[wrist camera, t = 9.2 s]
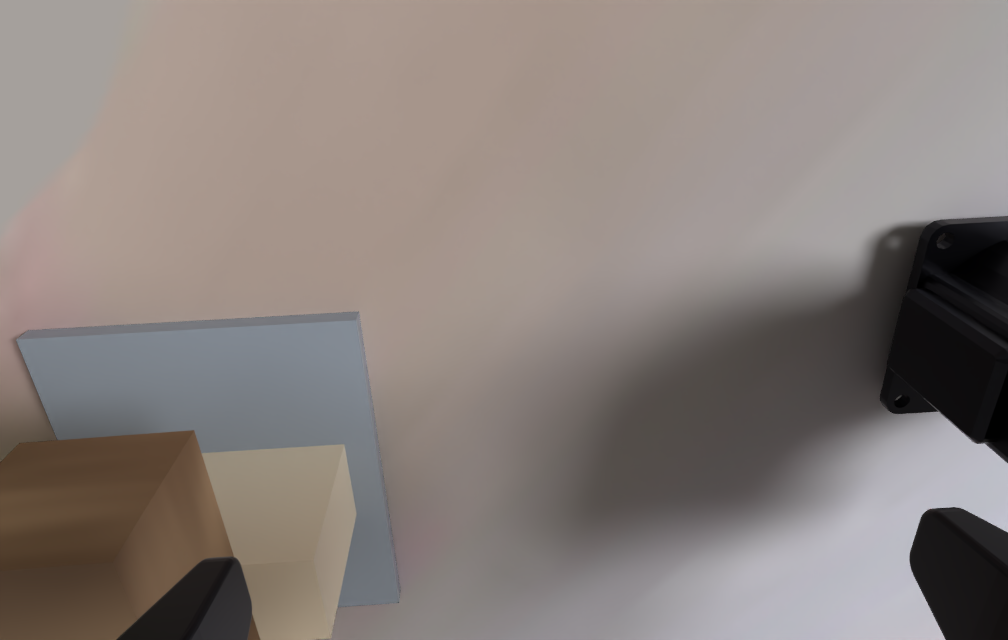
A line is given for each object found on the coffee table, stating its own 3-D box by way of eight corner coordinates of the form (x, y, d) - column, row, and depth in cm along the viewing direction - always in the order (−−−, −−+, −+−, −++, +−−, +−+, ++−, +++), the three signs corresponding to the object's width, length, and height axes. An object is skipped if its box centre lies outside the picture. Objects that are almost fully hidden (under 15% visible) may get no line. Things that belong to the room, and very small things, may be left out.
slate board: (359, 309, 21) (324, 414, 15) (400, 585, 26) (385, 734, 21) (31, 327, 20) (-117, 442, 15) (141, 603, 26) (59, 759, 20)
